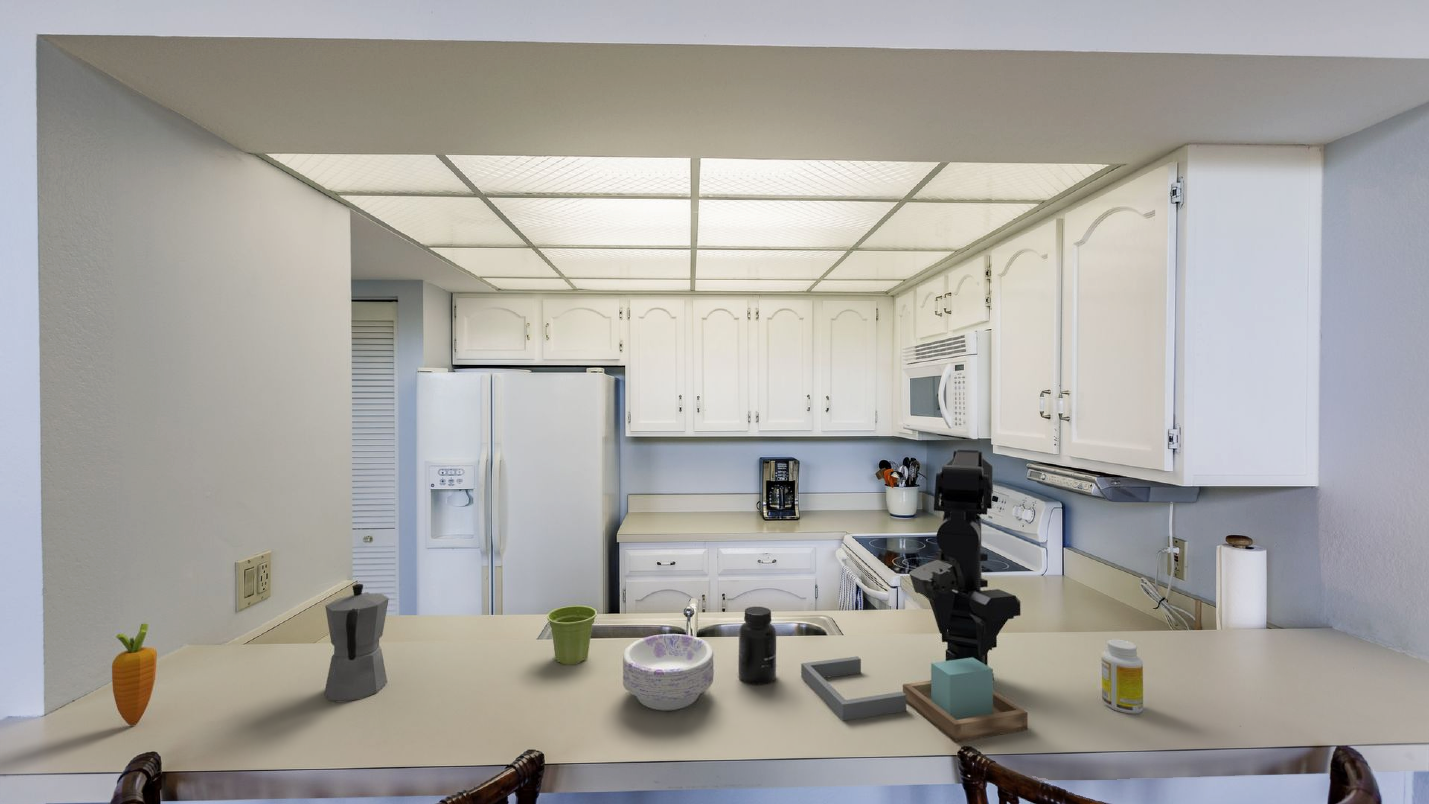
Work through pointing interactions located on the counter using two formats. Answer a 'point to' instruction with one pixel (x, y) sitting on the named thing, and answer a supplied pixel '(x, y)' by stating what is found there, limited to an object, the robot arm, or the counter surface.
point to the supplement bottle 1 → (757, 647)
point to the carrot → (133, 676)
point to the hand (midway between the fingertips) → (962, 643)
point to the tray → (1000, 722)
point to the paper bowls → (668, 670)
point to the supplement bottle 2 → (1122, 677)
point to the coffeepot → (356, 645)
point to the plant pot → (571, 632)
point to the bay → (851, 707)
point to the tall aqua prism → (962, 687)
